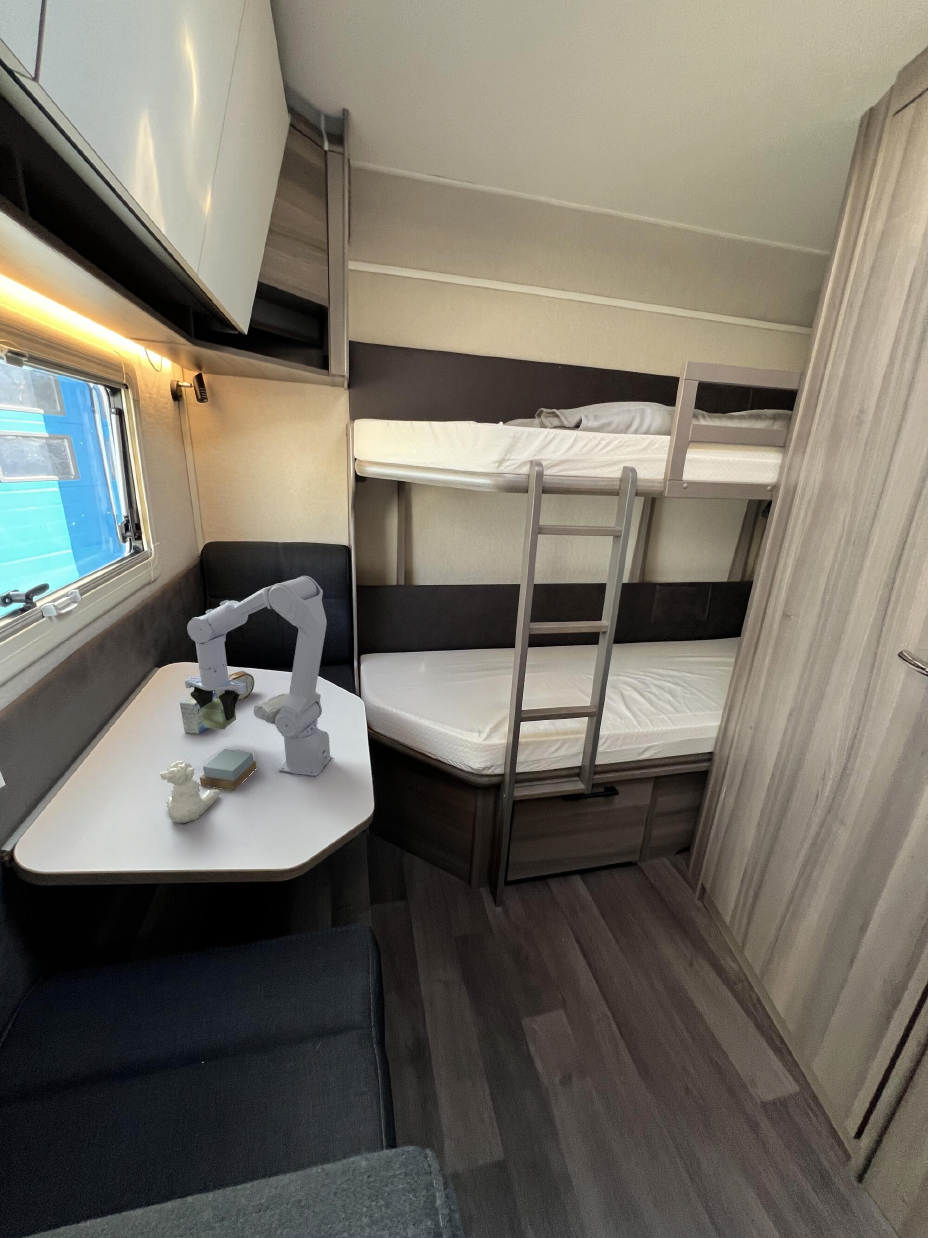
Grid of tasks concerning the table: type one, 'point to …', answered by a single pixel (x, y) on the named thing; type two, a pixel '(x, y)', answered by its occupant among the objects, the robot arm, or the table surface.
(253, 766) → the walnut slab
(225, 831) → the table surface
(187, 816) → the seated beast figurine
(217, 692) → the tin
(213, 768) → the slate blue slab
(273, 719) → the stone block
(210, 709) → the green cube
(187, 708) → the medicine box
